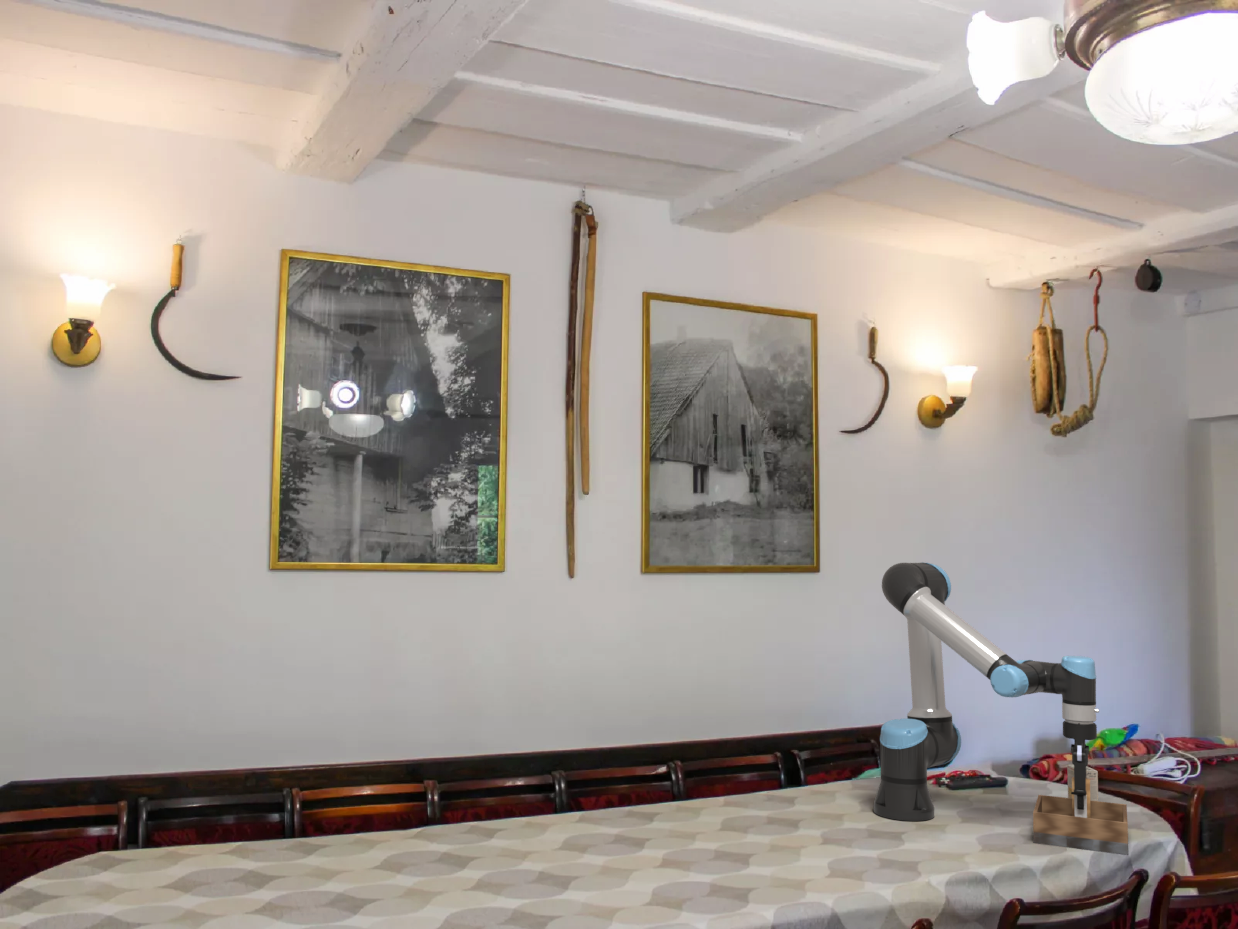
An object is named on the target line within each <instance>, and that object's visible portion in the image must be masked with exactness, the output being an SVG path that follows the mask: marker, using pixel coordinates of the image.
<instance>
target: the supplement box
mask: <svg viewBox="0 0 1238 929" xmlns="http://www.w3.org/2000/svg"><path fill="white" fill-rule="evenodd" d="M1066 766H1067V767H1066V768H1067V772H1066V773H1067V774H1066V775H1067V798H1072V794H1071V792H1072V777H1074V765H1073V764H1067V765H1066ZM1098 776H1099V773H1098V770H1096V769H1094V768H1091V767H1089V766H1088V765H1087V766H1086V778H1088V779H1090V800H1091V801H1099V777H1098Z"/></svg>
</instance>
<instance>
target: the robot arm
mask: <svg viewBox="0 0 1238 929" xmlns="http://www.w3.org/2000/svg"><path fill="white" fill-rule="evenodd" d="M881 590H882V591H881V592H882V593H883V596H884V598H885V599H886V601H888V603H889V604H890V605H891V606H892V607H894V609H896V610H897V611H898V612H899V613H900V614H901V615H903V616H904V617H905V618H906V620H907V637H908V652H909V653H908V654H909V672H910V687H911V702H912V703H911V704H912V707H911V709H910V711H909V712H907V714H906V717H907V718H897V719H891V720H887V721H886V722H884V723H883V724H882V725H881V728H880V735H879V742H880V781H879V786H878V789H877V791H876V794H875V798H874V801H873V812H874V814H875V815H878V816H880V817H882V818H887V819H891V820H897V821H907V822H918V821H919V822H921V821H927V820H932V819H933V818H935V807H934V806H935V805H934V803H933V800H932V797H931V793H930V790H929V787H928V768H933V767H935V766H942V765H946V764H947V763H949V762H951V761H952V760H954V759H955V758H956V757H957V756H958V754H959V752H960V751H961V746H962V736H961V732H960V730H959V728H957V727H956V725H955V723H954V722H953V715H952V713H951V712H950V711H949V710H948V709H947V707H946V695H945V680H944V666H943V661H944V660H943V651H942V650H943V649H942V643H944V645H946V646H947V647H949V648H950V649H951V650H953V651H954V652H955V653H956V654H958V656H960V657H961V658H962V659H964V660H965V661H966V662H967V663H969V665H971V666H972V667H973V668H974V669H976V670H977V671H978V672H980V673H981V674H982V675H983V676H985V677H986V678H987V679H988V680H989V681H990V685H991V687H992V690H993V691H994V692H995V693H996V694H997V695H999V696H1000V697H1003V698H1004V697H1005V698H1018V697H1021V696H1025V695H1032V694H1037V693H1044V694H1055V695H1061V697H1062V698H1061V699H1062V700H1061V709H1062V710H1061V711H1062V712H1061V713H1062V714H1061V717H1062V719H1063V720H1064V721H1063V722H1062V736H1063V737H1064V738H1067V739H1072V740H1074V744H1073V743H1071V745H1070V753H1071V763H1072V764H1071V765H1074V792H1071V794H1073V795H1074V812H1075V817H1084V818H1087V795H1086V794H1087V792H1086V766H1088V764H1089V754H1090V745H1087V744H1086V741H1093V740H1094V741H1095V740H1096V739H1097V738H1098V730H1097V728H1098V726H1097V724H1096V723H1095V722H1096V721H1097V713H1100V710H1099V708H1097V675H1096V674H1097V673H1096V663H1095V660H1094V659H1093V658H1091V657H1089V656H1082V655H1066V656H1063V657H1062V658H1061V662H1050V661H1049V662H1046V661H1039V660H1038V661H1037V660H1032V659H1024V660H1023V659H1018V660H1016V659H1013V658H1012V657H1011V656H1009V655H1008V654H1007V653H1006V652H1005V651H1004V650H1002V649H1001V648H1000V647H998V645H995V644H994V643H993V642H992V641H991V640H990V639H988V638H987V637H985V635H983V634H982V633H981V632H980V631H978V630H976V628H974V626H972V625H970V624H969V622H966V621H965V620H964V619H963V618H962V617H961V616H959V615H958V614H957V613H955V612H954V611H952V610H951V609H950V608H949V607H948V606H946V601H947V600H948V598H949V597H950V595H951V592H952V583H951V580H950V577H949V575H948V574H947V572H946V571H945V570H944V569H943V568H942V567H940V566H939V565H937V564H934V563H929V562H923V561H922V562H899V563H895V564H893V565H891V566H890V567H889V568H888V569H886V571H885V573H884V575H883V576H882V579H881Z"/></svg>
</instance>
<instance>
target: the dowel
mask: <svg viewBox="0 0 1238 929" xmlns="http://www.w3.org/2000/svg"><path fill="white" fill-rule="evenodd" d="M1072 792H1074V777H1072ZM1086 792H1087V794H1086V795H1087V818H1091V809H1090V779H1088V778H1086ZM1072 816H1075V812H1074V795H1073V794H1072Z"/></svg>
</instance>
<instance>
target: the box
mask: <svg viewBox="0 0 1238 929" xmlns="http://www.w3.org/2000/svg"><path fill="white" fill-rule="evenodd" d="M1090 809H1091V818H1084V817H1075V816H1072V798H1068V797H1062V796H1054V795H1046V794H1038V796H1037V800H1036V803H1035V804H1034V809H1033V811H1032V814H1033V815H1032V820H1033V825H1032V826H1033V827H1032V830H1033V831H1032V834H1033V837H1032V838H1033V839H1032V841H1033V843H1034V844H1040V845H1041V844H1043V845H1047V846H1048V845H1049V846H1056V847H1057V846H1058V847H1062V848H1071V849H1079V850H1087V851H1094V852H1102V853H1111V854H1117V855H1125V856H1128V855H1129V827H1128V826H1129V825H1128V823H1129V822H1128V806H1127V804H1125V803H1117V802H1107V801H1099V800H1098V801H1091V800H1090Z"/></svg>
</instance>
